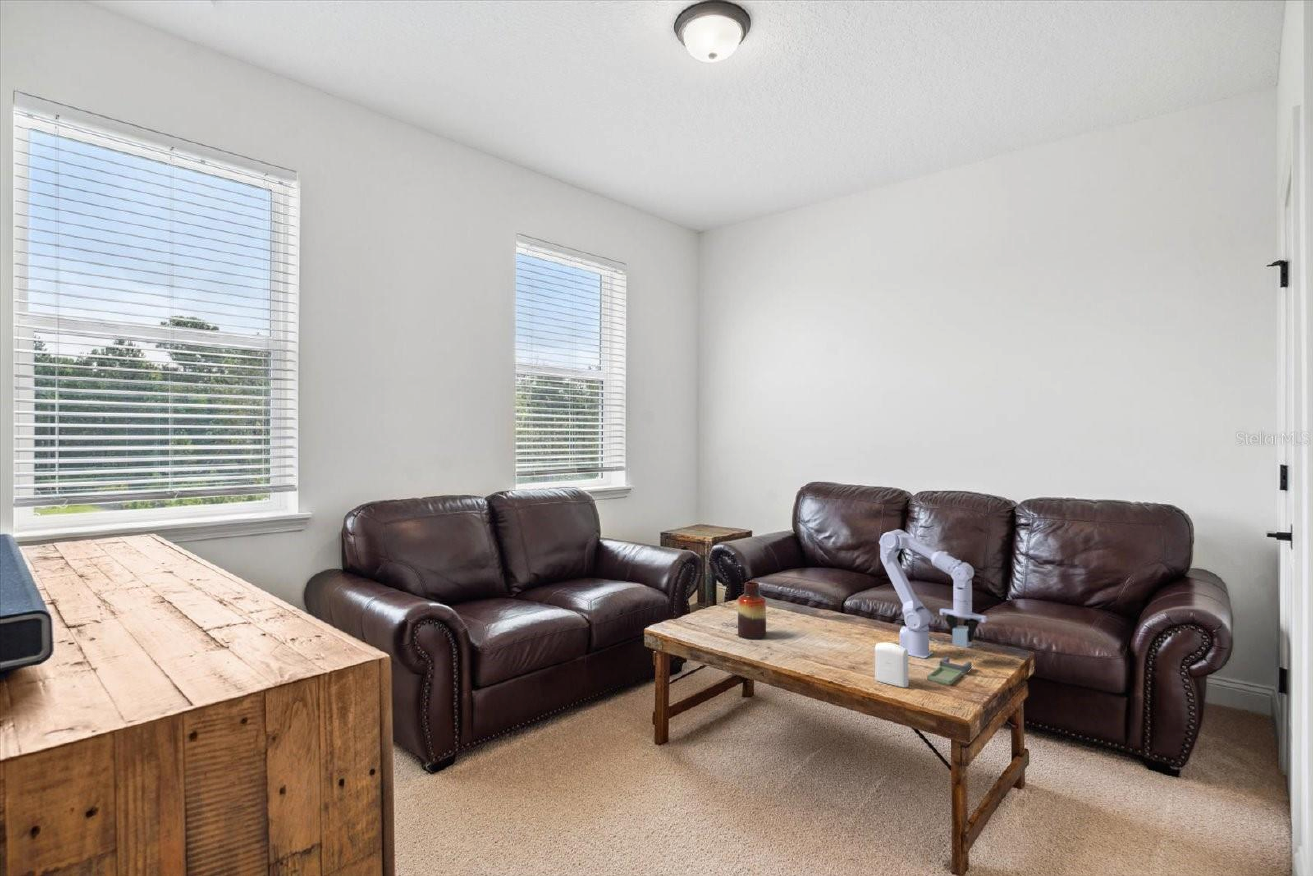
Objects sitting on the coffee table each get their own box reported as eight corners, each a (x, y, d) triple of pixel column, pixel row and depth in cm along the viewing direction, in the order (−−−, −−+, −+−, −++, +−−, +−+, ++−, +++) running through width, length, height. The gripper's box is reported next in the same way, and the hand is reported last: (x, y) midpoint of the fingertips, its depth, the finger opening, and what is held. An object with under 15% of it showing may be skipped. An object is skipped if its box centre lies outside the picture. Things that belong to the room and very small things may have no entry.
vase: (765, 631, 260) (765, 580, 260) (767, 640, 249) (766, 586, 249) (737, 631, 261) (737, 579, 261) (738, 639, 250) (738, 586, 250)
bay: (939, 669, 218) (939, 661, 218) (946, 664, 223) (946, 656, 223) (965, 675, 213) (965, 667, 213) (971, 669, 218) (971, 662, 218)
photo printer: (872, 681, 208) (872, 641, 208) (878, 677, 211) (878, 638, 211) (904, 689, 201) (904, 649, 201) (910, 685, 204) (910, 645, 204)
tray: (927, 680, 208) (927, 675, 208) (939, 670, 217) (939, 666, 217) (950, 685, 204) (950, 681, 204) (962, 675, 212) (962, 671, 212)
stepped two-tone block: (952, 645, 222) (952, 628, 222) (961, 639, 229) (961, 623, 229) (966, 648, 219) (966, 631, 219) (974, 642, 226) (975, 626, 226)
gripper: (989, 601, 221) (989, 641, 221) (944, 594, 231) (944, 632, 231) (982, 605, 216) (982, 646, 216) (937, 597, 226) (937, 637, 226)
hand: (962, 639), depth 223 cm, fingers closed on stepped two-tone block, 4 cm apart
